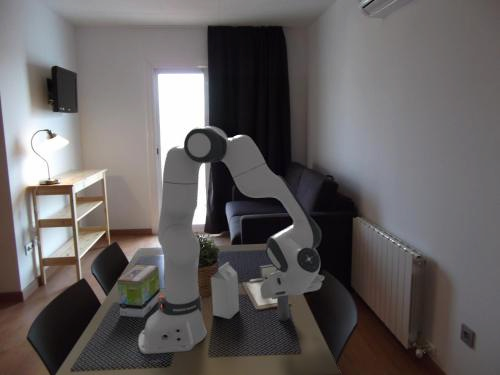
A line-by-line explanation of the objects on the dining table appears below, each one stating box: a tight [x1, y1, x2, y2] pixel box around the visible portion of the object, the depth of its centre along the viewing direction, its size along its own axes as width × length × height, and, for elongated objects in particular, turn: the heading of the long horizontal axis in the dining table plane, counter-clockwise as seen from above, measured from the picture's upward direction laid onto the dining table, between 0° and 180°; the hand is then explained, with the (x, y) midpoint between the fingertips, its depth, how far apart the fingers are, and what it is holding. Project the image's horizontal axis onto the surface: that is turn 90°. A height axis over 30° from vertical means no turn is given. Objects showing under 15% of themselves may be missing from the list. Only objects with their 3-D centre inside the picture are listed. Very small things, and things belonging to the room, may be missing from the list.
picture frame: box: [259, 263, 279, 279], centre depth 170 cm, size 8×1×6 cm, turn 104°
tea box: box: [117, 264, 161, 318], centre depth 148 cm, size 15×10×15 cm
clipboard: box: [241, 277, 292, 312], centre depth 156 cm, size 14×24×2 cm, turn 14°
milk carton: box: [210, 261, 240, 320], centre depth 141 cm, size 7×7×19 cm
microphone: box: [276, 295, 290, 322], centre depth 136 cm, size 4×4×13 cm
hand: (286, 294), depth 132 cm, fingers open, 8 cm apart
